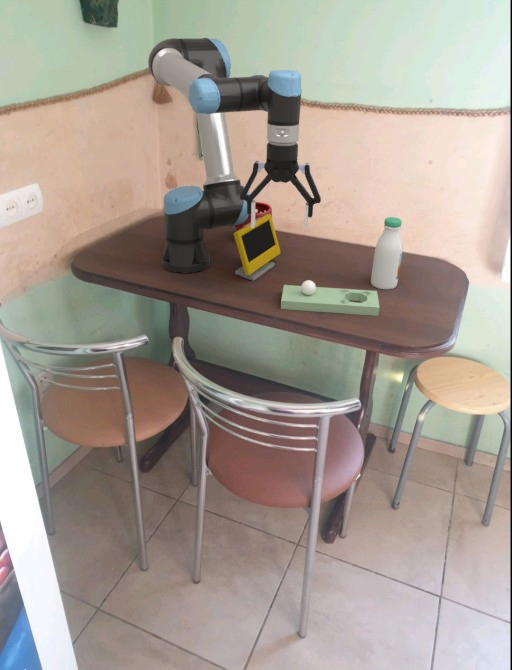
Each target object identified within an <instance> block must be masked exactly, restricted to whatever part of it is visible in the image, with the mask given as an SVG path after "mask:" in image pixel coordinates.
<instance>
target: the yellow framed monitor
mask: <svg viewBox="0 0 512 670" xmlns="http://www.w3.org/2000/svg"><path fill="white" fill-rule="evenodd" d="M272 217H273V216H272ZM272 217H271V214H267V215H265V216H263V217H259V218H257V219H255V227H254V228H251V222H250V223H248V224H247V225H245V226H243V228H242V229H240V230H238V231H237V230H236V231H235V232H234V233H233V236H234V241H235V243H236V247H237V250H238V254H239V257H240V261H241V264H242V266H240V267H239V268H237V269H236V270H235V271H234V274H235V275H237V276H239V277H242V278H244V279H247V280H250V281H252V282H254V281H256V280H257V279H258V278H259V277H261V276H262V275H263V274H265V273H266V272H268V271H269V270H270V269H272V268H273V267H275V265H276V264H275V262H273V261H271V260H273V259H275V258H276V257H277V256H279V255H280V254H281V248H280V244H279V240H278V237H277V234H276V230H275V225H274V222H273V218H272Z"/></svg>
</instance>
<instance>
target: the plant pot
mask: <svg viewBox="0 0 512 670" xmlns="http://www.w3.org/2000/svg"><path fill="white" fill-rule="evenodd" d="M255 210H257V211H255V219H257V218H259V217H263V216H265V215H267V214H271V217H273V208H272V206H271V205H270V204H268V203H265V202H260V201H255ZM250 222H251V215H250V214H249V215H248V218H247V219H246V221H245V222H244V223H242V224H238V225H234V227H235V230H236V232H237V231H238V230H240V229H242V228H243V226H245V225H247V224H248V223H250Z"/></svg>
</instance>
